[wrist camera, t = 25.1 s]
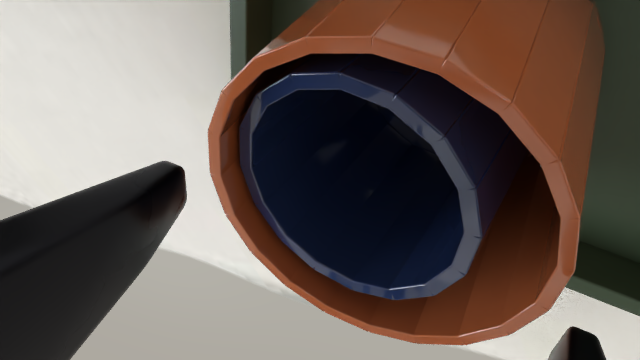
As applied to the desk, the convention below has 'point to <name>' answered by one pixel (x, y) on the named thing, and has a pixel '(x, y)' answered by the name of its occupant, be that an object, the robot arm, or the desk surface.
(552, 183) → the large cup
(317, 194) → the small cup
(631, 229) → the tray
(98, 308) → the robot arm
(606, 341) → the desk surface
